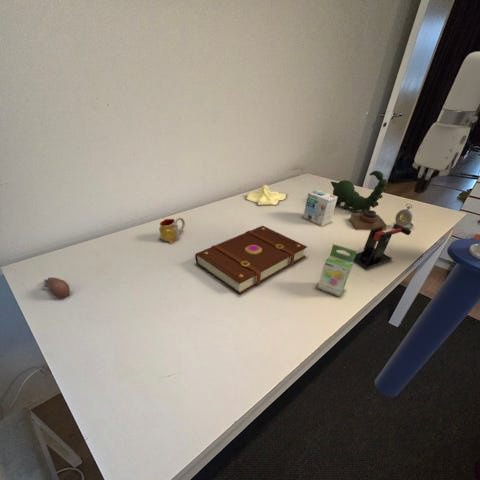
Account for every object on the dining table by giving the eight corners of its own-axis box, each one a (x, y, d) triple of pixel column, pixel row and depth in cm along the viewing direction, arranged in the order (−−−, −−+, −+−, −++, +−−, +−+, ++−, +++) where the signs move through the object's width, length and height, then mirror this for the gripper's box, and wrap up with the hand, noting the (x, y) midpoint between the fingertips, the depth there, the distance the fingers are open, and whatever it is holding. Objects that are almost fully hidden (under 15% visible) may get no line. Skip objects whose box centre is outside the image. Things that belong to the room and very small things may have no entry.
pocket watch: (412, 224, 114) (424, 200, 107) (412, 232, 109) (425, 208, 101) (392, 220, 116) (402, 197, 109) (391, 228, 111) (402, 204, 104)
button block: (376, 219, 117) (380, 210, 114) (384, 230, 110) (388, 220, 107) (349, 219, 117) (352, 210, 114) (356, 229, 110) (359, 219, 107)
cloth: (265, 208, 123) (267, 195, 119) (238, 197, 132) (238, 184, 128) (294, 197, 134) (296, 184, 130) (267, 188, 144) (268, 175, 139)
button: (372, 214, 112) (374, 210, 111) (375, 218, 109) (377, 214, 108) (363, 214, 112) (364, 210, 111) (366, 218, 109) (367, 213, 108)
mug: (170, 244, 98) (166, 227, 93) (157, 239, 100) (153, 222, 96) (192, 233, 104) (190, 216, 100) (180, 228, 107) (177, 212, 103)
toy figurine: (374, 216, 123) (330, 196, 134) (396, 173, 109) (344, 155, 120) (365, 222, 118) (320, 201, 129) (386, 178, 104) (333, 158, 115)
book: (305, 257, 93) (308, 245, 89) (240, 295, 77) (241, 281, 74) (259, 234, 104) (260, 222, 101) (195, 263, 89) (193, 250, 85)
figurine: (42, 291, 79) (58, 303, 73) (32, 276, 76) (47, 287, 70) (60, 283, 82) (77, 293, 76) (51, 268, 79) (68, 278, 73)
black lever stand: (372, 250, 97) (384, 222, 90) (390, 261, 92) (404, 232, 85) (349, 258, 93) (359, 229, 85) (366, 269, 88) (379, 240, 81)
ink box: (316, 288, 80) (328, 249, 71) (321, 282, 83) (333, 243, 73) (339, 297, 78) (353, 257, 68) (343, 290, 80) (358, 251, 70)
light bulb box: (302, 217, 117) (307, 192, 109) (312, 214, 120) (317, 189, 112) (321, 226, 111) (328, 200, 103) (331, 222, 114) (338, 196, 107)
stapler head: (394, 228, 93) (397, 222, 91) (409, 235, 89) (412, 229, 88) (368, 236, 89) (371, 229, 87) (382, 244, 85) (385, 237, 83)
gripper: (492, 122, 65) (448, 198, 78) (436, 114, 75) (405, 183, 88) (475, 124, 63) (433, 202, 76) (419, 115, 72) (390, 186, 85)
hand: (418, 192), depth 82 cm, fingers closed
